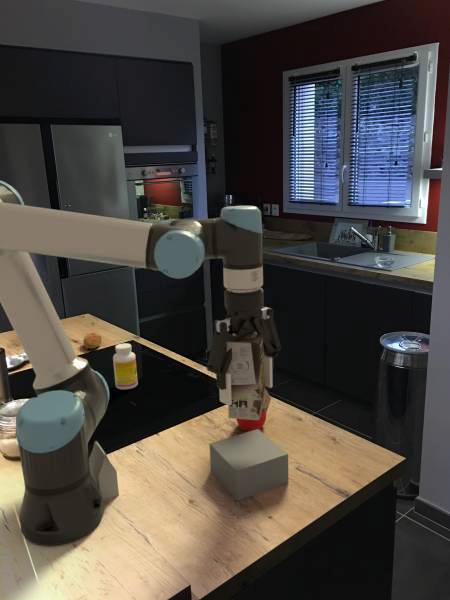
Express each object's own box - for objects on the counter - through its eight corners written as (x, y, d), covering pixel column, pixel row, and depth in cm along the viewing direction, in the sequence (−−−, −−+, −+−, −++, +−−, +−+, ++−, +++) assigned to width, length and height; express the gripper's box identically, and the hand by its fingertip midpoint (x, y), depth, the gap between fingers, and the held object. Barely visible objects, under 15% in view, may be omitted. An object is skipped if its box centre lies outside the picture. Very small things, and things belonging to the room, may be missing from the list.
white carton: (101, 503, 104) (96, 458, 102) (91, 486, 110) (86, 443, 107) (119, 496, 106) (114, 452, 104) (108, 480, 112) (103, 438, 109)
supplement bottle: (140, 388, 157) (136, 347, 154) (118, 392, 155) (114, 351, 152) (135, 379, 163) (131, 340, 160) (113, 383, 161) (110, 344, 158)
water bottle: (278, 437, 127) (277, 339, 120) (247, 443, 124) (245, 343, 118) (259, 415, 138) (257, 324, 131) (230, 421, 135) (227, 328, 129)
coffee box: (260, 421, 102) (258, 342, 98) (227, 418, 103) (224, 341, 99) (266, 400, 111) (264, 327, 107) (236, 398, 112) (233, 326, 108)
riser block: (237, 502, 103) (236, 471, 102) (211, 472, 114) (209, 443, 112) (288, 484, 109) (288, 453, 107) (258, 456, 119) (258, 428, 117)
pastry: (102, 349, 191) (101, 339, 190) (83, 350, 189) (82, 340, 188) (101, 341, 200) (101, 331, 199) (83, 342, 198) (82, 333, 197)
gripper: (209, 303, 91) (214, 419, 96) (298, 280, 105) (299, 382, 111) (183, 296, 96) (190, 406, 102) (271, 275, 111) (273, 372, 116)
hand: (246, 393), depth 106 cm, fingers closed on coffee box, 11 cm apart
